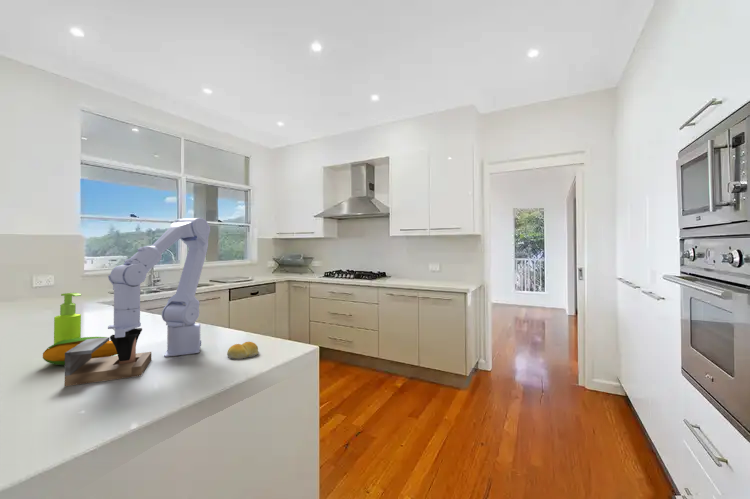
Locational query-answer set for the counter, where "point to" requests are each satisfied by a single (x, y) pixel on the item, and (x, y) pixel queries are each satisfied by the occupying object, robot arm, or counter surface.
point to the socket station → (99, 364)
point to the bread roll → (242, 350)
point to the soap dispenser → (67, 320)
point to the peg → (133, 355)
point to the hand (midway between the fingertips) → (126, 358)
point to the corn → (60, 348)
